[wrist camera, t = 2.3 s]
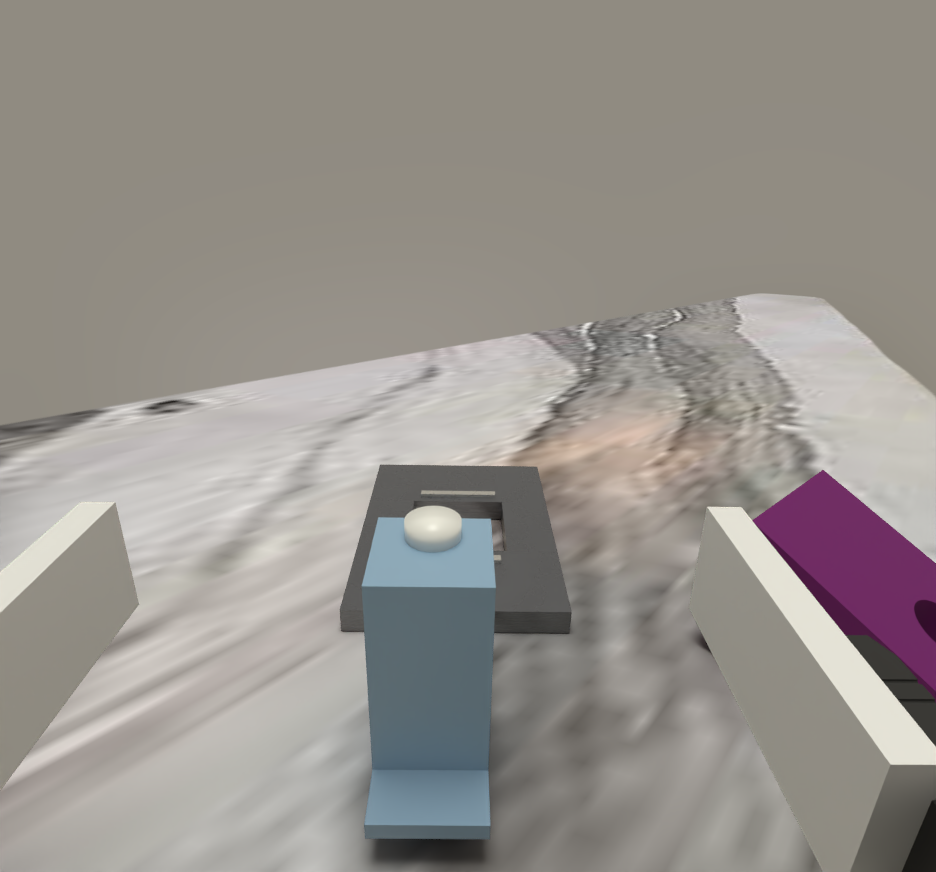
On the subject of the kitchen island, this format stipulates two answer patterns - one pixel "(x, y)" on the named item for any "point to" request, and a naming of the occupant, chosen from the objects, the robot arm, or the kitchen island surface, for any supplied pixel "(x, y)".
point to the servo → (429, 675)
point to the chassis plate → (477, 497)
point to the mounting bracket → (859, 570)
